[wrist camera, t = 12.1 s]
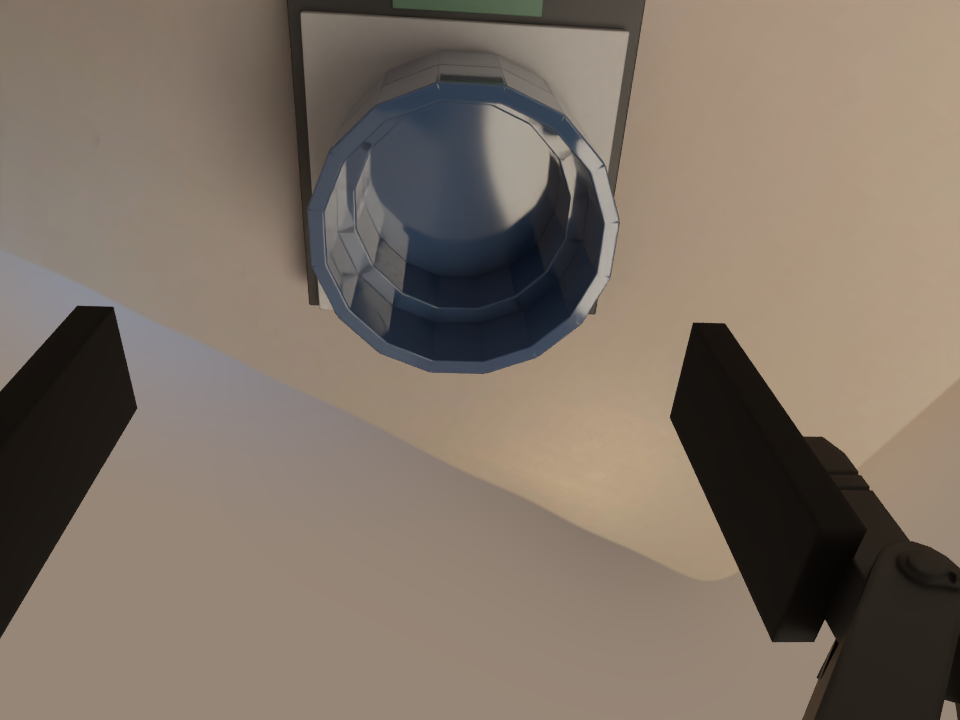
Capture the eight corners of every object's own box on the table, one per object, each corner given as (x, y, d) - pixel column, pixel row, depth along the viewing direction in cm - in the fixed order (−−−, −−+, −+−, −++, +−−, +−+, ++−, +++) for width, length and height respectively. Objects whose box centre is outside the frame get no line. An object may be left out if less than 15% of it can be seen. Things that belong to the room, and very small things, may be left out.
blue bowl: (327, 41, 29) (297, 74, 23) (602, 56, 30) (642, 92, 24) (339, 292, 35) (318, 370, 29) (569, 300, 36) (594, 377, 30)
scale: (294, -42, 30) (280, -38, 28) (634, -21, 31) (652, -15, 28) (316, 284, 38) (307, 311, 35) (587, 293, 39) (597, 320, 36)
